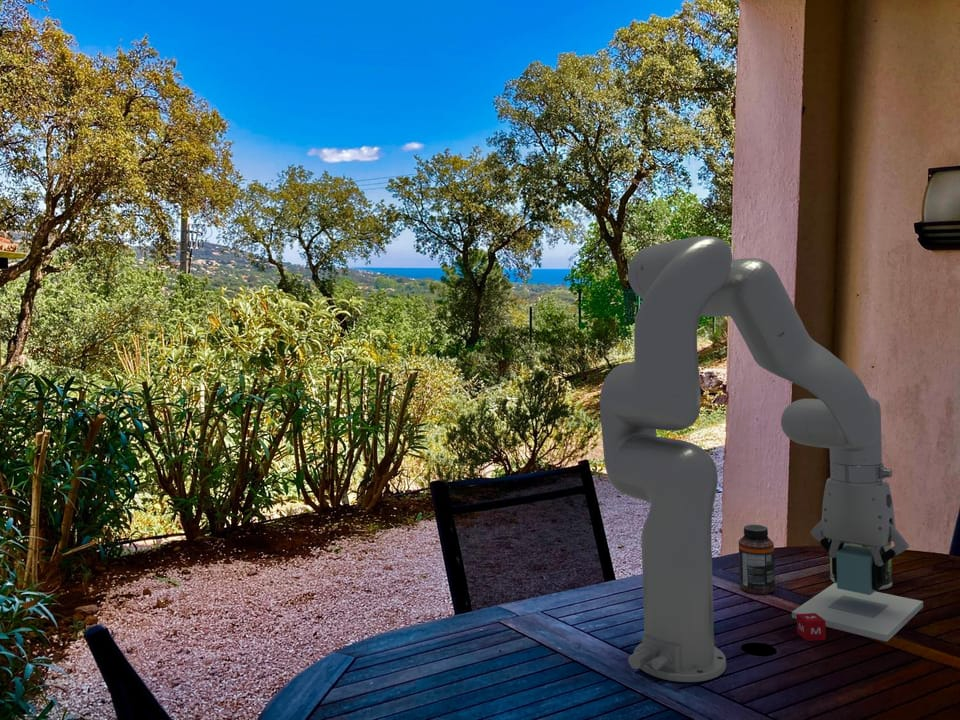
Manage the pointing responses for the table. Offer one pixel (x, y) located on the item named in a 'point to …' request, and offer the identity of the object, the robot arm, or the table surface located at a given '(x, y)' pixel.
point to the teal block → (855, 569)
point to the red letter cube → (811, 627)
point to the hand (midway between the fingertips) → (858, 582)
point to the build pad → (861, 611)
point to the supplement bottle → (756, 560)
